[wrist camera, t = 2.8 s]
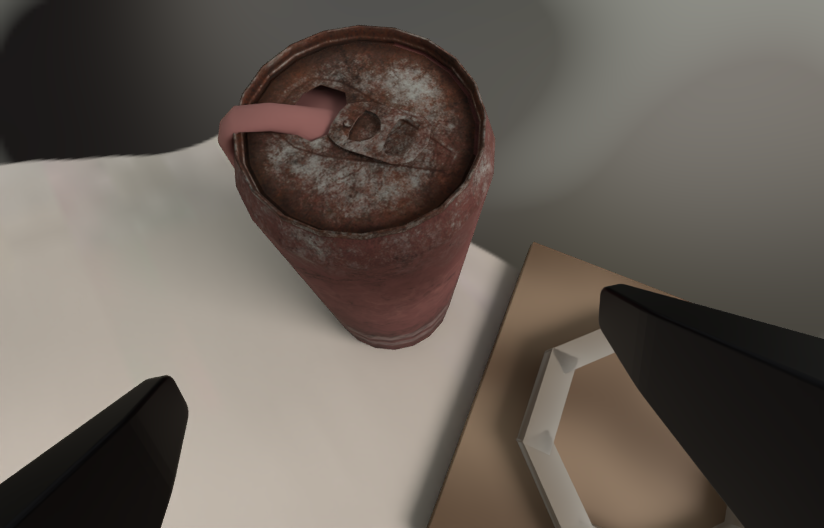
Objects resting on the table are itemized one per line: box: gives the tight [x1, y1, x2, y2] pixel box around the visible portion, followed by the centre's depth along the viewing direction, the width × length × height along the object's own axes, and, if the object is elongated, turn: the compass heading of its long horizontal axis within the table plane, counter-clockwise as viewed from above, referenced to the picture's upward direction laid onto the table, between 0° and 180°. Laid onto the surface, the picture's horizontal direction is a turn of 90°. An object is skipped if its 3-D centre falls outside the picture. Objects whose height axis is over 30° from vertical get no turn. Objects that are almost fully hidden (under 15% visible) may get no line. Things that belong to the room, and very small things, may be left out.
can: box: [218, 25, 495, 350], centre depth 15 cm, size 6×6×14 cm
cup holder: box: [427, 242, 744, 528], centre depth 18 cm, size 15×15×2 cm
